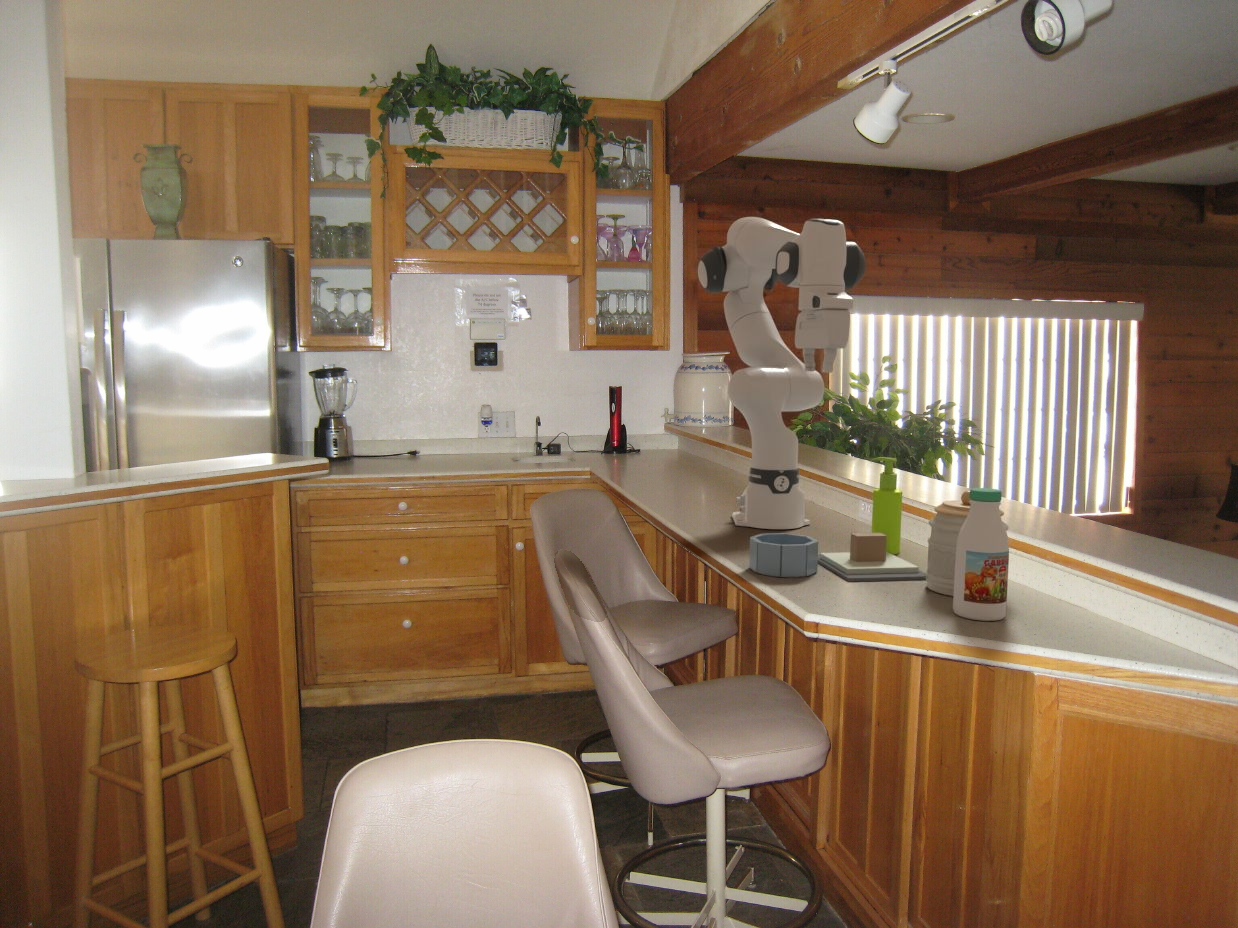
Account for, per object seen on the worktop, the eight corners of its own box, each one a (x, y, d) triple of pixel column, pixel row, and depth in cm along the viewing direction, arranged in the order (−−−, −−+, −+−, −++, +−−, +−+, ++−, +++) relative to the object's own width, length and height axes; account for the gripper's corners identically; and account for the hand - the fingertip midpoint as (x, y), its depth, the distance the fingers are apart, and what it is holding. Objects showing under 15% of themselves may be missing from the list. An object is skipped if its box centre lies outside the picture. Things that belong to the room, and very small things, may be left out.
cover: (819, 557, 174) (820, 528, 174) (885, 556, 176) (887, 527, 176) (847, 574, 161) (848, 542, 160) (918, 572, 162) (920, 540, 162)
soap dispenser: (872, 546, 189) (876, 455, 187) (904, 551, 185) (908, 457, 182) (861, 550, 184) (865, 457, 182) (893, 555, 180) (897, 459, 178)
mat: (809, 557, 177) (809, 554, 177) (884, 556, 179) (884, 553, 179) (848, 581, 158) (848, 578, 157) (931, 579, 160) (931, 576, 160)
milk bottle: (944, 614, 137) (950, 489, 134) (965, 605, 142) (971, 484, 140) (993, 625, 131) (1000, 494, 129) (1013, 615, 136) (1021, 489, 134)
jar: (1021, 594, 150) (1027, 493, 148) (971, 603, 143) (976, 498, 141) (958, 578, 161) (963, 484, 159) (909, 586, 154) (913, 488, 153)
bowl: (744, 563, 171) (744, 533, 171) (802, 562, 173) (803, 532, 172) (761, 578, 159) (762, 546, 159) (824, 576, 161) (825, 544, 160)
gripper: (788, 304, 182) (786, 370, 183) (825, 298, 161) (821, 373, 163) (817, 305, 182) (814, 371, 184) (857, 299, 162) (853, 373, 164)
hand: (818, 372), depth 174 cm, fingers open, 8 cm apart
